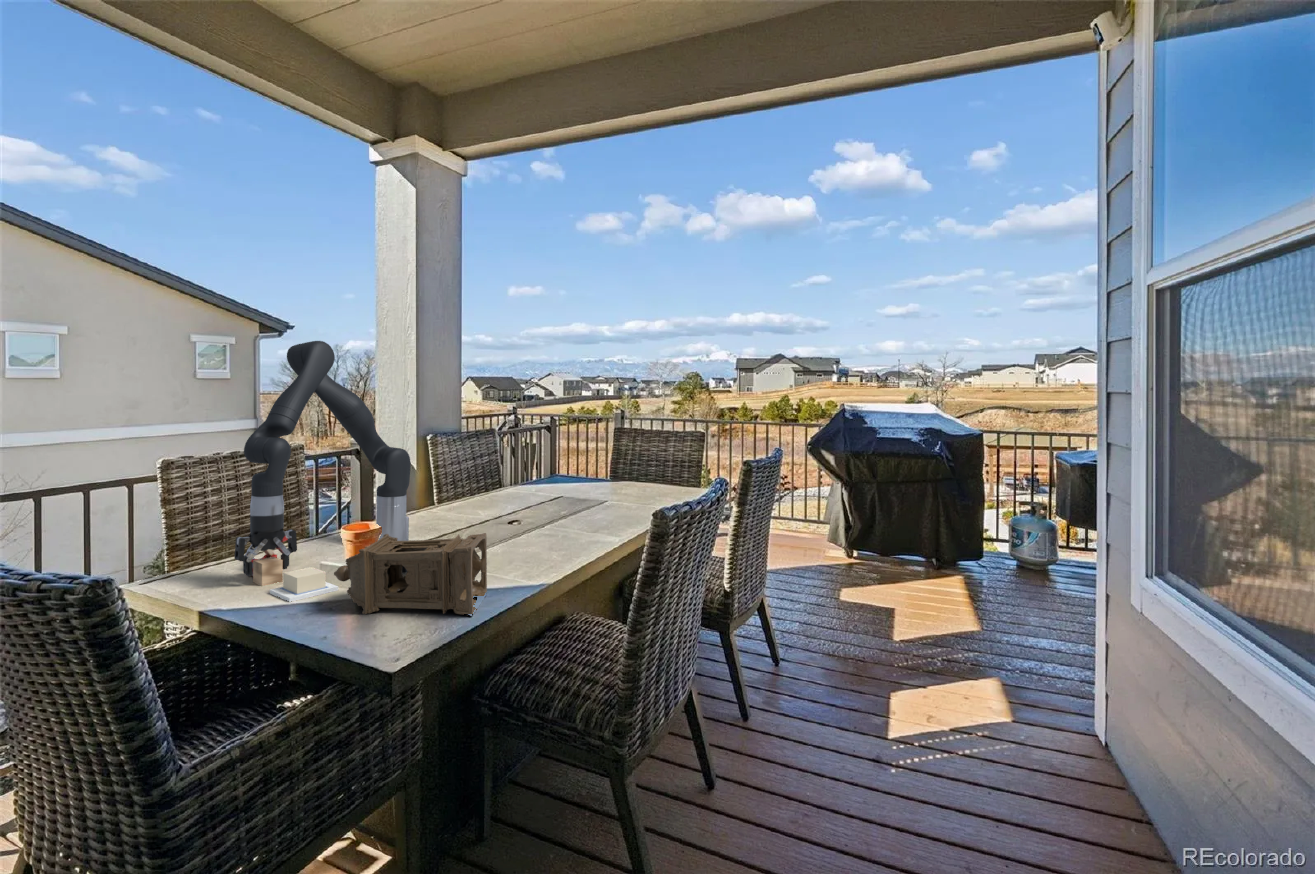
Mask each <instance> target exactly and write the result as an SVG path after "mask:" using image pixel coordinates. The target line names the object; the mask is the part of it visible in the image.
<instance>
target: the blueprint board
mask: <svg viewBox="0 0 1315 874" xmlns="http://www.w3.org/2000/svg"><path fill="white" fill-rule="evenodd" d="M326 577H327V574H326V571H325V570H321V569H318V568H315V567H314V566H310V567H309V566H308V567H304V568H301V569H295V570H290V571H285V572H283V582H282V586H280V587H275V588H271V589H269V594H270V595H272V596H275V597H277V596H278V597H277V598H279V597H280V598H279V599H282V600H283V601H286V600H287V602H288V601H289V602H288V603H292V602H296V600H297V601H300V600H305V599H309V598H312V597H316V596H321V595H324V594H327V593H328V594H329V593H333V592H337V591H339V586H338V585H336V584H333V583H330V582H327V581H326V580H327V579H326ZM291 601H292V602H291Z"/></svg>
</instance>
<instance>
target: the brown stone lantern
mask: <svg viewBox="0 0 1315 874" xmlns="http://www.w3.org/2000/svg"><path fill="white" fill-rule="evenodd" d="M487 538H488V537H487V533H486V532H484V533H480V534H470V535H468V536H467V537H466V538H462V537H461V536H460V534H457V536H456V537H455V538H454V537H453V538H442V539H441V538H439V539H420V540H419V539H415V540H409V541H397V540H398V538H394V537H391V536H389V534H385V535H383V538H381V539H380V540H378V541H377V542H376V541H375V542H373V543H371V544H370V545H368V546H366V547H364V548H359V550H358V552H359V553H357V554H354V555H351V556H349V557H347V558H346V559H345V562H344V563H345V565H341V566H339V567H338V568H337V570H336V571H335V570H334V573H333V576H335V577H336V579H337V580H338V581H340V582H347V581H350V586H349V587H348V589H347V590H346V592H347V594H348V596H349V597H350V599H351V600H352V603H355V604H357V606H359V607H361V608H362V609H363V610H362V615H368V614H372V613H374V612H379V611H380V608H381V609H420V610H441V611H442V614H443V615H444V614H446V613H447V612H448V610H453V613H454V614H456V615H464V614H473V612H474V610H475V609H476V608H475V607H473V605H475V604H474V603H476V599H475V598H474V599H473V596H484V595H485V593H486V592H487V593H488V580H487V578H488V574H487V571H488V570H487V568H488V562H487V561H488V560H487V559H488V557H487V556H488V555H487V554H488V552H487V551H488V549H487V548H488V547H487V542H488V541H487ZM477 548H478V550H479V551H481V555H478V553H477V551H476V549H477ZM480 556H481V557H480ZM403 567H404V569H405V570H406V571H407V572H406V574H405V576H404V574H403ZM479 573H480V580H478V579H476V578H477V576H478V574H479Z"/></svg>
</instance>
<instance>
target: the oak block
mask: <svg viewBox="0 0 1315 874" xmlns="http://www.w3.org/2000/svg"><path fill="white" fill-rule="evenodd" d="M257 559H258V560H253V576H252V577H253V578H252V583H253V582H255V583H254V584H256V585H258V586H261V587H265V586H270V585H275V584H278V583H277V582H279V583H283V573H284V572H283V571H284V569H283V560H281V558H279V557H277V558H276V557H269V558H264V559H261V558H257ZM274 583H275V584H274Z"/></svg>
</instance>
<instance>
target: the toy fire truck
mask: <svg viewBox="0 0 1315 874" xmlns="http://www.w3.org/2000/svg"><path fill="white" fill-rule="evenodd" d="M286 541H287V542H288V538H286V536H285V537H284V538H283V540H282V541H281V542H282V543H284V542H286ZM263 553H264V555H262V557H261V558H260V559H264V558H269V557H276V558H278V554H276V553H275V552H274V549H273V550H270V549H268V550H266V551H263ZM258 559H259V558H253V559H252V561H251V562H252V576H251V577H253V560H258Z"/></svg>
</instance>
